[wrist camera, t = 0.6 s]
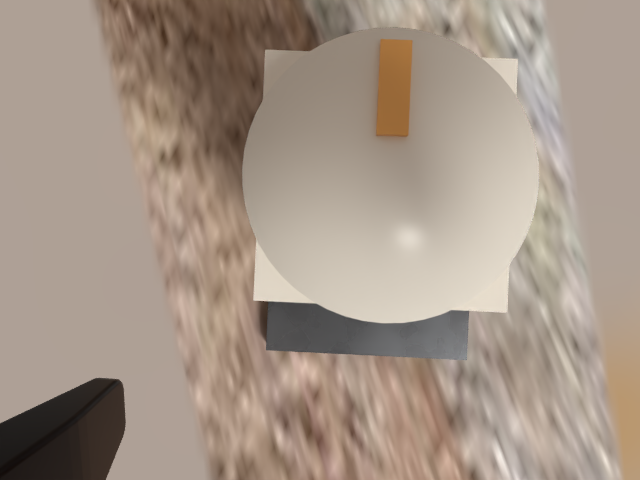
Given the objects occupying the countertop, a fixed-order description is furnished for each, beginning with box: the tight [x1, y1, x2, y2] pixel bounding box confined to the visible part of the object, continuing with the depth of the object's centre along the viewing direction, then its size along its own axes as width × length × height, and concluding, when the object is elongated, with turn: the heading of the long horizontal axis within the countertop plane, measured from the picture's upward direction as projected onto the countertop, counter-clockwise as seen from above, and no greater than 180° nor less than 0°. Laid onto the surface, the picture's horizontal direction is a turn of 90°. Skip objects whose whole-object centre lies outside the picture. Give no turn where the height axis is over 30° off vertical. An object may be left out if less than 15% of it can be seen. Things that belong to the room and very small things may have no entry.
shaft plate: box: [266, 301, 469, 360], centre depth 21 cm, size 12×10×7 cm
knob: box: [242, 27, 539, 323], centre depth 16 cm, size 8×8×7 cm
